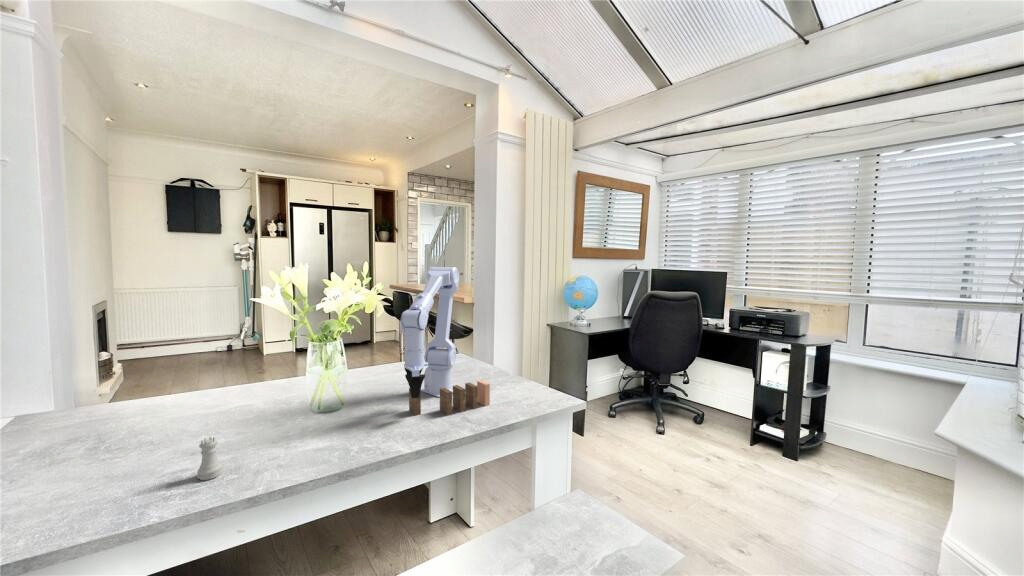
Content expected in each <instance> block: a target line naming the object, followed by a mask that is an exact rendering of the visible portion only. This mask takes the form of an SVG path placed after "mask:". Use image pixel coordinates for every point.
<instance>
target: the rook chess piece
mask: <svg viewBox="0 0 1024 576" xmlns="http://www.w3.org/2000/svg"><path fill="white" fill-rule="evenodd" d="M218 443H219V441H218V440H216V437H215V436H214V437H213V436H209V438H208V437H206V438H203V439H201V441H200V444H199V448H200V449H201V451H200V454H201V463H200V465H199V468H198V469H197V476H196V478H197V479H198V480H199V479H200V480H199V481H210V480H212V479H213V478H214V479H216V478H217V476H218V477H219V476H220V475H221V474H222V473H223V469H222V467H223V466H222V463H220V460H219V461H218V457H217V450H218V449H217V447H216V446H217V445H218ZM215 477H216V478H215ZM209 479H210V480H209Z"/></svg>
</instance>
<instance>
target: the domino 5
mask: <svg viewBox="0 0 1024 576" xmlns="http://www.w3.org/2000/svg"><path fill="white" fill-rule="evenodd" d="M490 385H491V384H490V383H489V382H487V381H484V380H482V379H481V380H479V379H478V380H476V386H478V404H480V405H482V406H484V407H487V406H488V407H489V406H490V405H491V404H490V403H491V402H490V401H491V400H490V399H491V398H490V395H491V394H490V393H491V391H490V389H491V388H490Z"/></svg>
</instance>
